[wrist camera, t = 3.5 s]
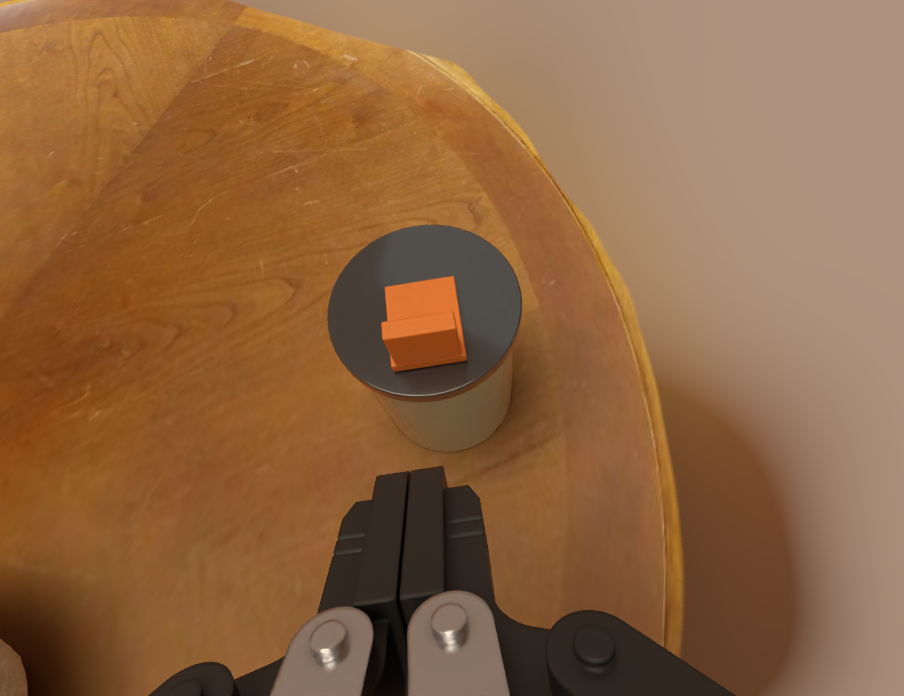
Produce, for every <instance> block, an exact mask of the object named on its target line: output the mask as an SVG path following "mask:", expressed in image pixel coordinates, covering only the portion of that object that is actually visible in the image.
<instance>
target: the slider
mask: <svg viewBox="0 0 904 696" xmlns="http://www.w3.org/2000/svg"><path fill="white" fill-rule="evenodd" d="M385 299H386V311H387V321H385V322H382V323H381V327H382V339H383V341H384V343H385V345H386V347H387V349H388V351H389V353H390V358H391V367H392V369H393V371H394V372H397V371H403V370H409V369H416V368H422V367H429V366H435V365H441V364H448V363H454V362H461V361H466V360H467V356H466V349H465V343H464V336H463V330H462V324H461V317H460V311H459V304H458V298H457V291H456V285H455V279H454V276H450V277H443V278H437V279H431V280H425V281H419V282H412V283H406V284H400V285H394V286H388V287H385Z"/></svg>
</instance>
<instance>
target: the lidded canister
mask: <svg viewBox="0 0 904 696" xmlns="http://www.w3.org/2000/svg"><path fill="white" fill-rule="evenodd" d="M450 276H454V279H455V285H456V291H457V298H458V304H459V311H460V317H461V324H462V330H463V336H464V343H465V349H466V356H467V360H466V361H461V362H454V363H448V364H441V365H435V366H429V367H422V368H416V369H409V370H403V371H397V372H394V371H393V369H392V367H391V358H390V353H389V351H388V349H387V347H386V345H385V343H384V341H383V339H382V327H381V323H382V322H385V321H387V311H386V299H385V287H388V286H394V285H400V284H406V283H412V282H419V281H425V280H431V279H437V278H443V277H450ZM521 317H522V297H521V289H520V286H519V282H518V279H517V277H516V275H515V272H514V270H513V268H512V267H511V265H510V264H509V262H508V261H507V259H506V258H505V257H504V256H503V255H502V254H501V252H500V251H499V250H498V249H496V248H495V247H494V246H493V245H492V244H491V243H489V242H488V241H486V240H485V239H483V238H482V237H480V236H478V235H476V234H473V233H471V232H469V231H466V230H463V229H460V228H456V227H451V226H444V225H420V226H412V227H408V228H403V229H400V230H397V231H394V232H391V233H389V234H386V235H384V236H382V237H380V238H378V239H377V240H375V241H373V242H371V243H370V244H369V245H367V246H366V247H364V248H363V249H362V250H361V251H359V252H358V253H357V254H356V255H355V256H354V257H353V258H352V259H351V260H350V262H349V263H348V264H347V265H346V266H345V268H344V269H343V271H342V272H341V274H340V275H339V277H338V279H337V281H336V283H335V285H334V287H333V290H332V293H331V296H330V301H329V306H328V318H327V321H328V330H329V335H330V339H331V342H332V345H333V347H334V349H335V352H336V353H337V355H338V357H339V358H340V360H341V361H342V363H343V364H344V366H345V367H346V368H347V369H348V370H349V372H350V373H351V374H352V375H353V376H354V377H355V378H356V379H357V380H358V381H359V382H361V383H362V384H363V385H365V386H366V387H368V388H369V389H370V390H371V391H372V393H373V394H374V396H375V397H376V398H377V400H378V401H379V403H380V404H381V405H382V407H383V408H384V410H385V411H386V412H387V414H388V415H389V416H390V418H391V419H392V421H393V422H394V423H395V425H396V426H397V428H398V429H399V430H400V431H401V432H402V433H403V434H404V435H405V436H406V437H407V438H408V439H409V440H411V441H412V442H414V443H415V444H417V445H419V446H421V447H424V448H427V449H430V450H434V451H440V452H453V451H460V450H464V449H467V448H470V447H473V446H475V445H477V444H479V443H481V442H482V441H484V440H485V439H487V438H488V437H489V436H490V435H491V434H493V433H494V432H495V431H496V429H497V428H498V427H499V426H500V424H501V423H502V421H503V420H504V418H505V416H506V414H507V412H508V408H509V405H510V401H511V392H512V370H513V348H514V344H515V342H516V339H517V336H518V333H519V330H520V324H521Z"/></svg>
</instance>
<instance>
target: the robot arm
mask: <svg viewBox="0 0 904 696" xmlns="http://www.w3.org/2000/svg"><path fill="white" fill-rule="evenodd" d="M149 696H736V695H734V694H733V693H731V692H729V691H728V690H727V689H725V688H724V687H722V686H720V685H719V684H717V683H716V682H714V681H713V680H711V679H710V678H708V677H707V676H705V675H704V674H702V673H701V672H699V671H698V670H696V669H695V668H693V667H692V666H690V665H689V664H687V663H686V662H684V661H683V660H681V659H680V658H678V657H677V656H675V655H674V654H672V653H671V652H669V651H668V650H666V649H665V648H663V647H662V646H660V645H659V644H657V643H656V642H654V641H653V640H651V639H650V638H648V637H646V636H645V635H643V634H642V633H640V632H639V631H637V630H636V629H634V628H633V627H631V626H630V625H628V624H627V623H625V622H624V621H622V620H621V619H619V618H617V617H615V616H613V615H611V614H608V613H605V612H601V611H594V610H582V611H577V612H573V613H570V614H568V615H566V616H564V617H562V618H561V619H560V620H559V621H557V622H556V623H555V624H554V626H553V627H552V628H551V630H550V629H544V628H538V627H532V626H528V625H524V624H521V623H519V622H516V621H514V620H513V619H511V618H509V617H508V616H507V615H505V614H504V613H503V612H502V611H501V610H500V609H499V607H498V606H497V604H496V603H495V596H494V589H493V581H492V574H491V566H490V558H489V551H488V545H487V539H486V533H485V527H484V521H483V515H482V509H481V503H480V498H479V497H478V496H477V495H476V494H475V492H474V491H473V490H472V489H471V488H470V486H469V485H466V486H459V487H453V488H448V486H447V481H446V476H445V471H444V468H443V466H439V467H432V468H426V469H419V470H413V471H411V473H410V472H409V471H407V472H400V473H394V474H387V475H380V476H377V477H376V481H375V486H374V491H373V496H372V500H367V501H360V502H356V503H355V504H354V505H353V507H352V508H351V509H350V510H349V512H348V513H347V514H346V515H345V517H344V518H343V519H342V523H341V527H340V531H339V534H338V541H337V542H336V546H335V549H334V557H332V561H331V564H330V568H329V572H328V576H327V579H326V583H325V587H324V590H323V594H322V598H321V602H320V605H319V609H318V613H317V615H315V616H314V617H312V618H311V619H310V620H308V621H307V622H306V623H305V624H304V625H303V626H302V627H301V628H300V629H299V630H298V631H297V632H296V634H295V635H294V637H293V638H292V640H291V642H290V644H289V646H288V649H287V652H286V654H285V656H284V657H282V658H280V659H279V660H277V661H275V662H273V663H271V664H269V665H267V666H264V667H262V668H260V669H258V670H255V671H253V672H251V673H248V674H246V675H244V676H242V677H239V678H237V679H235V680H234V678H233V676H232V674H231V671H230V670H229V669H228V668H227V667H226V666H224V665H223V664H220V663H217V662H204V663H199V664H195V665H193V666H190V667H188V668H186V669H184V670H182V671H180V672H178V673H176V674H175V675H173V676H172V677H170V678H169V679H168V680H167V681H165V682H164V683H163V684H162V685H160V686H159V687H158V688H157V689H156V690H154V691H153V692H152V693H151V694H150V695H149Z"/></svg>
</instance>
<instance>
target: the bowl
mask: <svg viewBox="0 0 904 696" xmlns="http://www.w3.org/2000/svg"><path fill="white" fill-rule="evenodd" d="M0 696H28V688H27V680H26V673H25V670H24V667H23V664H22V661H21V656H19V655H18V654H17V653H16V652H15V651H14V650H13V649H12V648H11V646H9V645H7V644H6V643H4V642H3V641H2V640H1V639H0Z"/></svg>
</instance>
